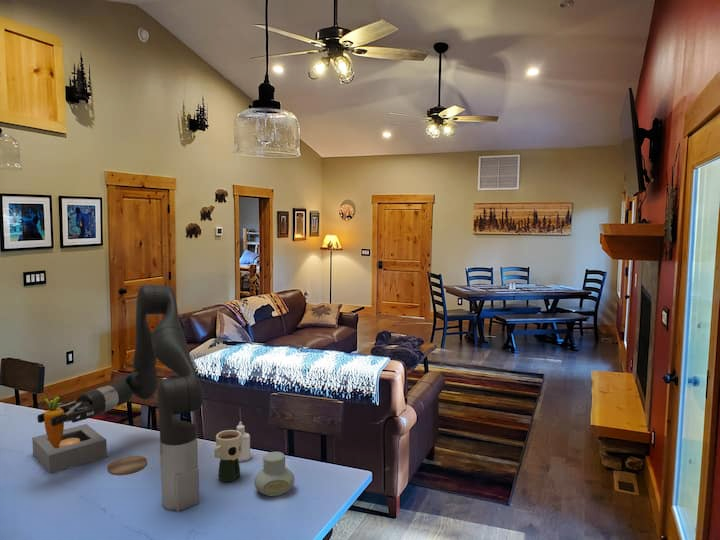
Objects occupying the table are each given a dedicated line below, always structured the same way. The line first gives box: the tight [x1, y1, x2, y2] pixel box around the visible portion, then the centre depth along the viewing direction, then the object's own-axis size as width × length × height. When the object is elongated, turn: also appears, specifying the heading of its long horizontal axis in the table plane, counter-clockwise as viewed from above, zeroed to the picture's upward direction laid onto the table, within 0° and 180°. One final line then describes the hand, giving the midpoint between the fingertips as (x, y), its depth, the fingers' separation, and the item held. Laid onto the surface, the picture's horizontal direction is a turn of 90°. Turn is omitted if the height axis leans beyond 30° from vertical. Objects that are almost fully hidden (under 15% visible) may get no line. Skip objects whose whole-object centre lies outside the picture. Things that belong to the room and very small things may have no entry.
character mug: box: [214, 429, 243, 482], centre depth 151 cm, size 11×7×13 cm, turn 150°
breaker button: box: [58, 438, 80, 448], centre depth 165 cm, size 6×6×2 cm
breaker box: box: [31, 423, 108, 475], centre depth 165 cm, size 18×16×6 cm
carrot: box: [43, 396, 65, 449], centre depth 147 cm, size 5×5×15 cm
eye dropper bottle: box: [236, 421, 251, 463], centre depth 163 cm, size 4×6×12 cm
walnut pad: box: [107, 455, 148, 476], centre depth 158 cm, size 11×11×1 cm
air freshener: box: [253, 451, 295, 497], centre depth 144 cm, size 11×8×10 cm
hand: (45, 420), depth 145 cm, fingers closed on carrot, 5 cm apart
